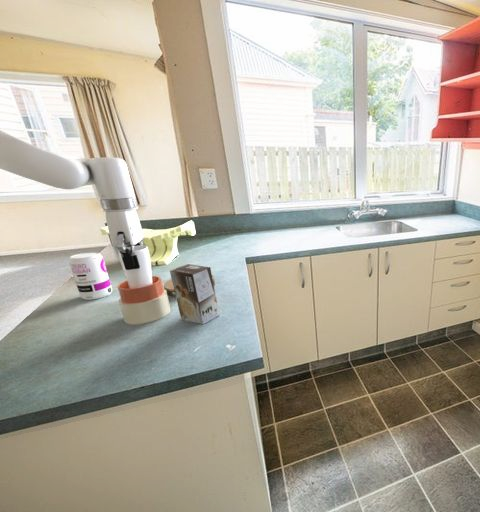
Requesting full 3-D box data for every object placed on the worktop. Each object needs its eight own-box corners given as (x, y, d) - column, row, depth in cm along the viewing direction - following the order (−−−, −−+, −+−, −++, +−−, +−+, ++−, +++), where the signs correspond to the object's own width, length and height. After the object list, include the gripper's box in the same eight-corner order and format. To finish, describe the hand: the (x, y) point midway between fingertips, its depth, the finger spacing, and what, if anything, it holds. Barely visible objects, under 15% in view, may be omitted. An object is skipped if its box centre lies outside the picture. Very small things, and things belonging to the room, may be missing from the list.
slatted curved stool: (199, 253, 152) (193, 219, 146) (188, 263, 137) (180, 225, 132) (131, 256, 145) (122, 220, 139) (111, 267, 130) (100, 228, 125)
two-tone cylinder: (118, 327, 85) (111, 307, 83) (131, 309, 95) (126, 291, 93) (166, 319, 89) (161, 300, 87) (174, 303, 99) (170, 285, 97)
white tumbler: (123, 297, 88) (111, 249, 84) (147, 289, 94) (137, 244, 90) (139, 301, 86) (128, 252, 82) (162, 293, 92) (153, 247, 88)
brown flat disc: (223, 286, 113) (222, 278, 113) (177, 301, 101) (176, 293, 100) (202, 277, 122) (200, 270, 121) (157, 290, 109) (155, 282, 108)
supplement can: (113, 288, 110) (101, 250, 105) (112, 296, 104) (100, 255, 99) (82, 294, 105) (69, 254, 100) (80, 303, 99) (66, 260, 94)
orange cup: (121, 326, 86) (111, 291, 82) (133, 310, 95) (124, 278, 91) (164, 319, 90) (156, 286, 86) (171, 304, 99) (164, 274, 95)
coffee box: (220, 314, 93) (212, 266, 88) (203, 325, 87) (193, 274, 82) (197, 310, 95) (188, 263, 90) (179, 319, 89) (168, 270, 84)
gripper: (114, 201, 88) (131, 257, 93) (87, 210, 73) (109, 277, 78) (145, 199, 90) (159, 254, 96) (125, 208, 75) (144, 272, 81)
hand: (137, 264), depth 87 cm, fingers closed on white tumbler, 6 cm apart
